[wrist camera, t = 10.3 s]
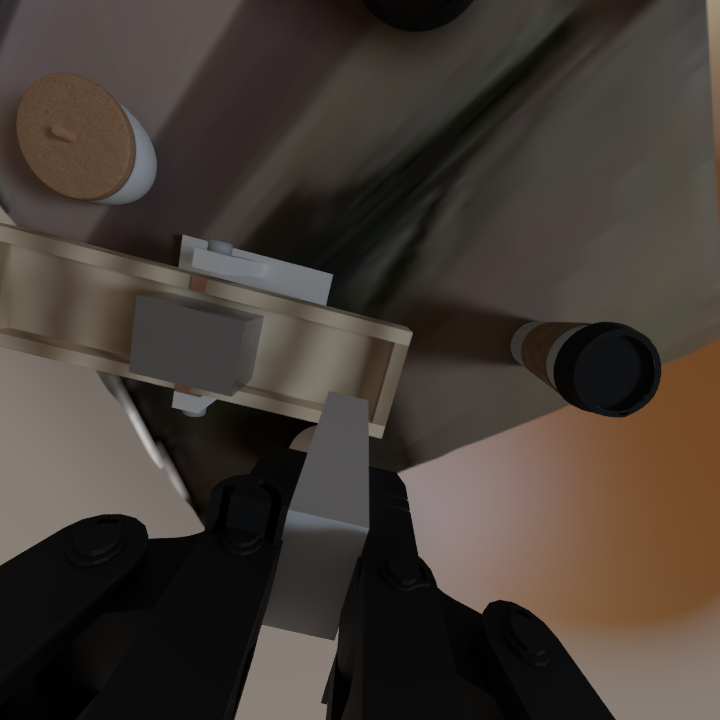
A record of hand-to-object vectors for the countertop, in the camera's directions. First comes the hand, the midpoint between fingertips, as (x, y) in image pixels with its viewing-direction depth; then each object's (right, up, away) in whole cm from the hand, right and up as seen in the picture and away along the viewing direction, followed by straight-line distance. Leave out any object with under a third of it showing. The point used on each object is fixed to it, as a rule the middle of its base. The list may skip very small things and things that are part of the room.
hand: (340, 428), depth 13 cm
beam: (-13, +5, +18) cm, 23 cm away
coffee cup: (+23, +5, +31) cm, 39 cm away
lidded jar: (-26, +25, +27) cm, 45 cm away
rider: (-12, +5, +17) cm, 22 cm away
